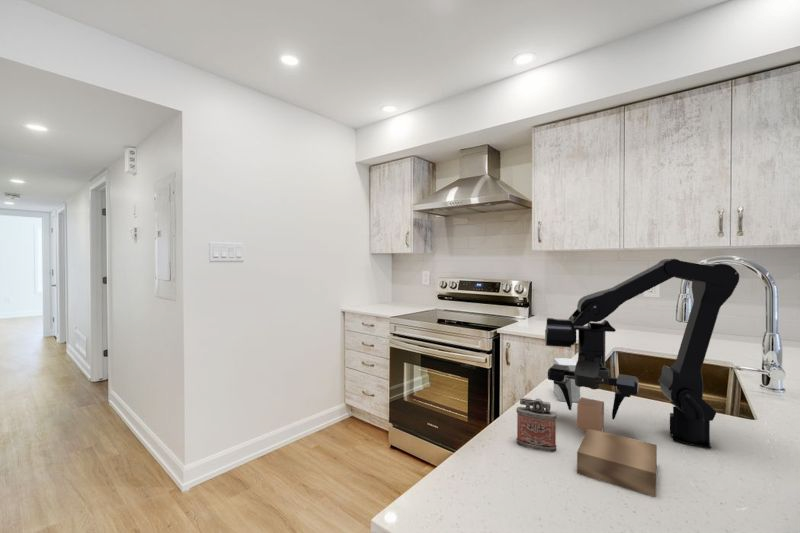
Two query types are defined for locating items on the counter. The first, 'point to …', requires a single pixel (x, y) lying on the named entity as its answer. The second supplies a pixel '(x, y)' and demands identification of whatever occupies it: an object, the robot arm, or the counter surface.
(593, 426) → the terracotta block
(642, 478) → the plate
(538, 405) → the lighter
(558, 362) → the small box
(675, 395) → the robot arm
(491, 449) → the counter surface
